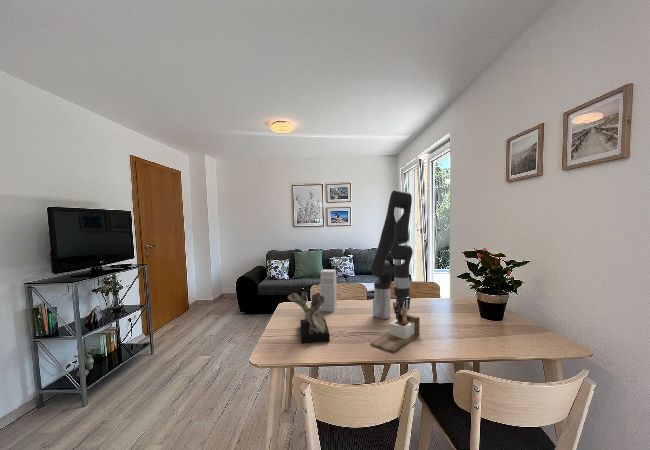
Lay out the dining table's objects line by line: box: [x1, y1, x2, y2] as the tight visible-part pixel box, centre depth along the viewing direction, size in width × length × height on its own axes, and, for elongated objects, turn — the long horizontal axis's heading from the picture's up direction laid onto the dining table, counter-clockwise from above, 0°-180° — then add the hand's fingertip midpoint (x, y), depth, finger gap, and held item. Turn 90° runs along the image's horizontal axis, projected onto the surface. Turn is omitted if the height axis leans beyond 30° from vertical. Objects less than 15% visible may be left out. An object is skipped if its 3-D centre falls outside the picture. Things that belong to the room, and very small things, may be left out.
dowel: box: [398, 305, 408, 326], centre depth 139 cm, size 4×4×10 cm
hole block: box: [388, 318, 415, 339], centre depth 140 cm, size 9×9×6 cm
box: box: [319, 268, 338, 313], centre depth 182 cm, size 8×8×25 cm
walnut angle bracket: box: [370, 313, 421, 354], centre depth 136 cm, size 12×25×9 cm, turn 136°
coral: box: [287, 291, 331, 344], centre depth 143 cm, size 25×20×22 cm
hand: (402, 320), depth 140 cm, fingers closed on dowel, 4 cm apart
